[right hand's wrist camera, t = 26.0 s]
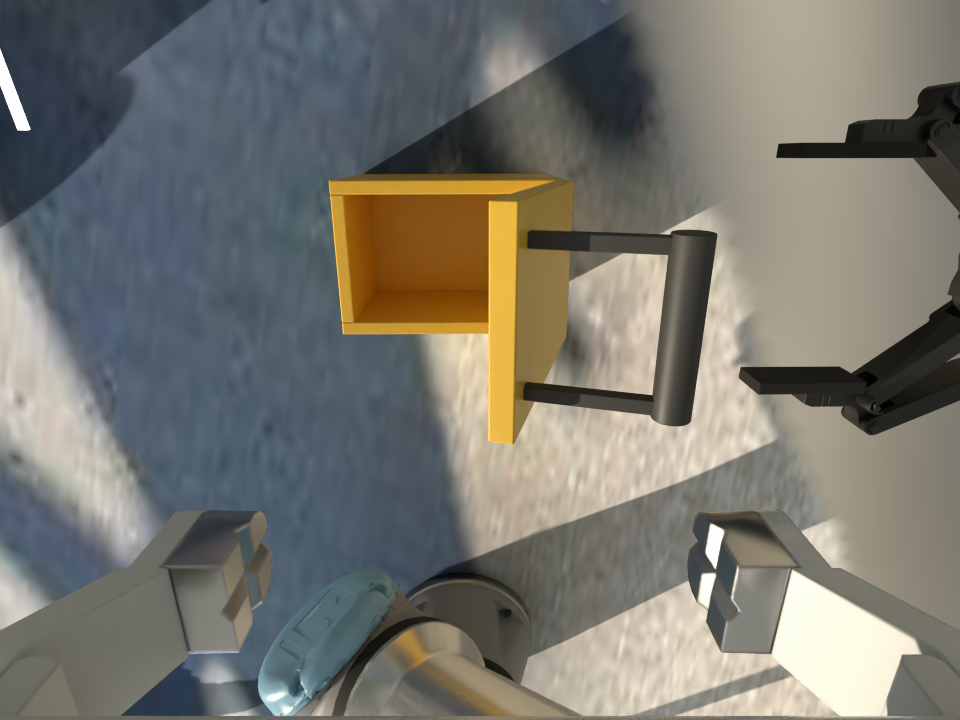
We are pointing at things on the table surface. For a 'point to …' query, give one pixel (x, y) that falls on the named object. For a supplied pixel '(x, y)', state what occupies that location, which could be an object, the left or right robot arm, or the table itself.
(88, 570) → the table surface
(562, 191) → the lid
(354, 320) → the chest
